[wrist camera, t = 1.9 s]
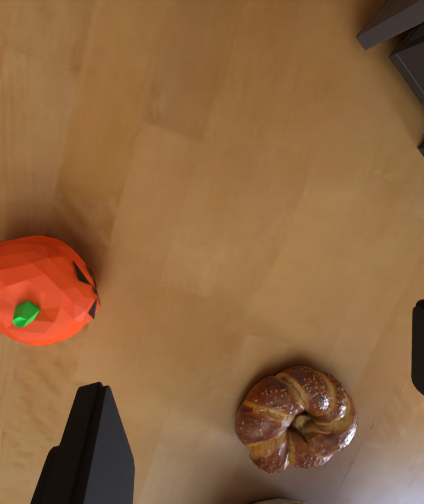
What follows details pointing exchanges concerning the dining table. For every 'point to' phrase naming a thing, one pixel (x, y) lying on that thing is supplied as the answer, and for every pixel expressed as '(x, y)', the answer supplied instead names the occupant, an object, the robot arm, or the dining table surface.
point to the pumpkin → (44, 290)
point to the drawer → (412, 46)
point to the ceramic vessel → (279, 501)
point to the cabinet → (421, 148)
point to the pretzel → (296, 419)
